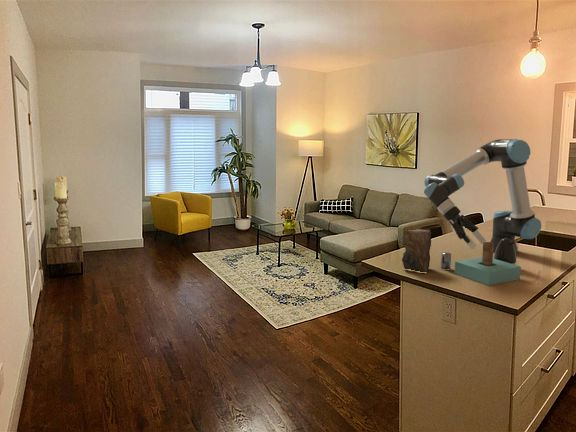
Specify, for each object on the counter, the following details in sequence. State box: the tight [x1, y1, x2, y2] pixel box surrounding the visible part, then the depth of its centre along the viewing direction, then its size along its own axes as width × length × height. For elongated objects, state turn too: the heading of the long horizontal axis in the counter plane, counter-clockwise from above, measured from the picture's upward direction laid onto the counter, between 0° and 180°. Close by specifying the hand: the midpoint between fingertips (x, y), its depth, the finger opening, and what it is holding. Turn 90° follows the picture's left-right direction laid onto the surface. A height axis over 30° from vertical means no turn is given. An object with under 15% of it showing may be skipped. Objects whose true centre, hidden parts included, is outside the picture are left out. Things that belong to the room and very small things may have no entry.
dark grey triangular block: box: [493, 238, 517, 265], centre depth 225 cm, size 10×10×15 cm
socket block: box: [454, 256, 522, 286], centre depth 213 cm, size 20×20×6 cm
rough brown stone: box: [401, 228, 432, 273], centre depth 224 cm, size 13×13×20 cm
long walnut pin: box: [481, 241, 494, 266], centre depth 212 cm, size 4×4×16 cm
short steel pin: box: [440, 251, 452, 270], centre depth 225 cm, size 4×4×8 cm
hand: (479, 244), depth 213 cm, fingers open, 13 cm apart
